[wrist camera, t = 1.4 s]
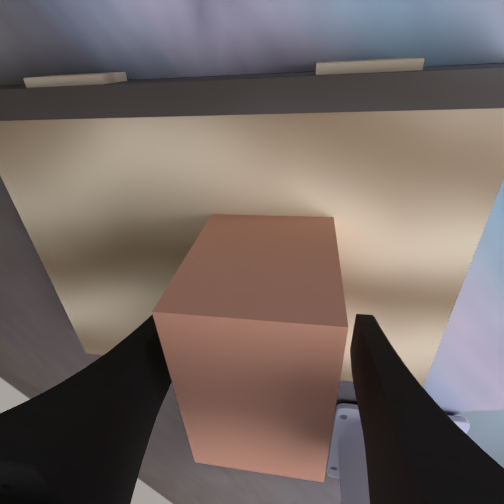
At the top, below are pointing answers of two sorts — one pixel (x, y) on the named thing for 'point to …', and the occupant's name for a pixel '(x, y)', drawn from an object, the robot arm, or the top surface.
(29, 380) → the top surface
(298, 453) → the carton
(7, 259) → the top surface
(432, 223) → the shelf board
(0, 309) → the top surface
